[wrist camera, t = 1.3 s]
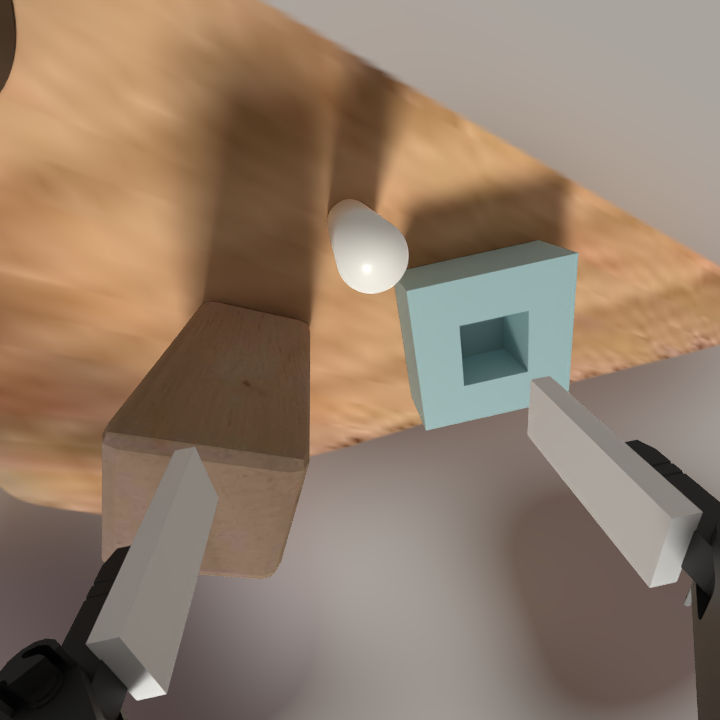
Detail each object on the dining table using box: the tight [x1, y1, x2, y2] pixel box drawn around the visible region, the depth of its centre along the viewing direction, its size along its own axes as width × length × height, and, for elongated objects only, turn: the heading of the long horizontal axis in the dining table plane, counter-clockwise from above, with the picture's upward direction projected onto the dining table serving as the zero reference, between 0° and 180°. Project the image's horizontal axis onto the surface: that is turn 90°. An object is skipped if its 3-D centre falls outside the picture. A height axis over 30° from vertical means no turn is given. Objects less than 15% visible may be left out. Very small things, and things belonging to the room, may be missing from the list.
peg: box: [327, 199, 409, 294], centre depth 27 cm, size 4×4×14 cm
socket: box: [394, 240, 578, 430], centre depth 37 cm, size 14×14×6 cm
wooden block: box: [102, 301, 310, 579], centre depth 29 cm, size 10×10×20 cm
